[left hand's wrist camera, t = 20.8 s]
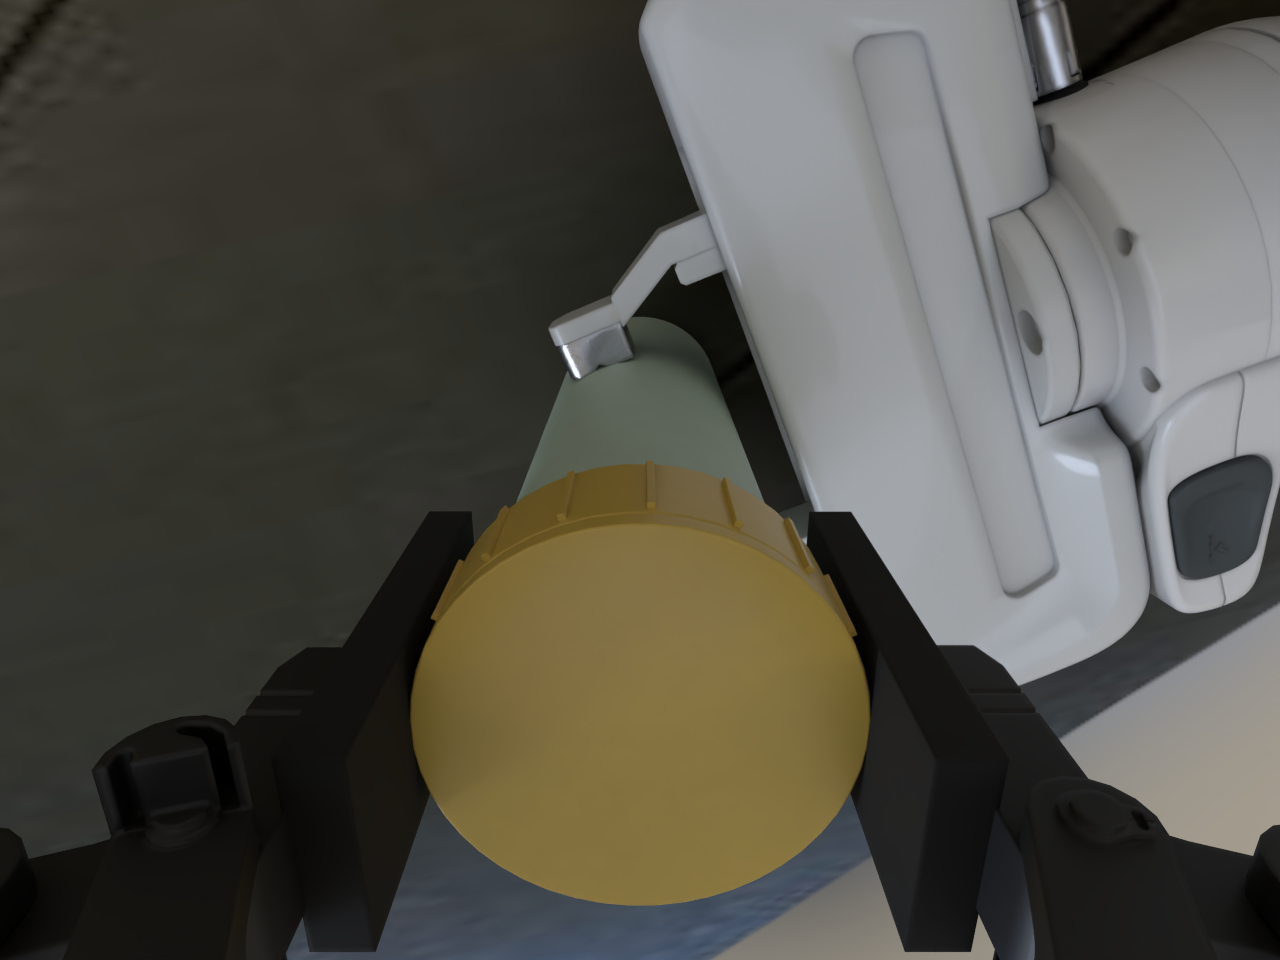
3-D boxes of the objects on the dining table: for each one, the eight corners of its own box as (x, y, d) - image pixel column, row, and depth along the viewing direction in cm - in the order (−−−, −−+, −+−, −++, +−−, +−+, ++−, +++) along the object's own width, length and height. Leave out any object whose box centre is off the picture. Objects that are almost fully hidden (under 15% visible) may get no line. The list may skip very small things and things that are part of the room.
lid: (904, 530, 12) (960, 604, 10) (752, 837, 14) (772, 952, 12) (502, 403, 11) (471, 452, 9) (406, 746, 13) (363, 850, 11)
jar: (541, 426, 28) (403, 770, 12) (602, 290, 26) (541, 466, 10) (674, 485, 29) (719, 885, 12) (742, 356, 27) (896, 622, 11)
